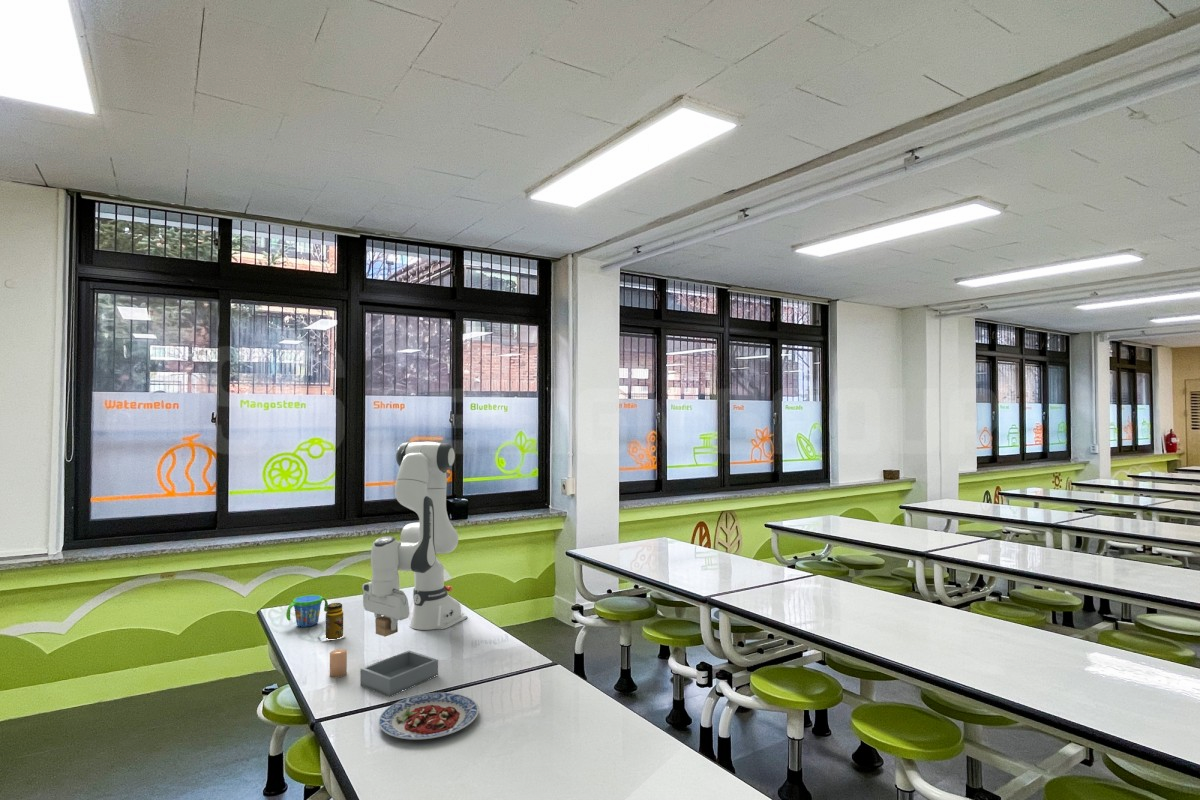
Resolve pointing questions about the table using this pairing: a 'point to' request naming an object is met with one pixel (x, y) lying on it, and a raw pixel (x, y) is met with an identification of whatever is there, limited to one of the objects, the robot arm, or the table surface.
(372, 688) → the tote
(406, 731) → the ceramic plate
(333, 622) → the condiment
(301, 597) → the snack cup
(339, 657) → the terracotta cylinder
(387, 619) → the walnut cube
